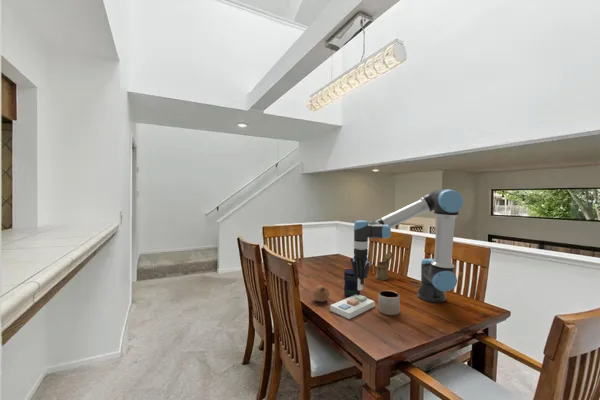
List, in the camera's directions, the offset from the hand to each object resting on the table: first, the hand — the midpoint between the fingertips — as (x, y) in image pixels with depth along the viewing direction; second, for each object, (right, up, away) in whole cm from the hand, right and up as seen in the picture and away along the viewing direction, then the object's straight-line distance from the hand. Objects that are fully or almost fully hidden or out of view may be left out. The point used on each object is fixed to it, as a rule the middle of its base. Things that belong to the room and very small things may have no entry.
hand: (360, 289), depth 159 cm
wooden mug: (+27, -6, +46) cm, 54 cm away
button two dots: (0, -7, 0) cm, 7 cm away
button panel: (-5, -9, -4) cm, 11 cm away
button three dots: (-5, -8, -4) cm, 10 cm away
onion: (-21, -9, +7) cm, 24 cm away
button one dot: (-10, -9, -9) cm, 16 cm away
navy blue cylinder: (-2, -8, +14) cm, 17 cm away
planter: (+14, -9, -8) cm, 18 cm away
